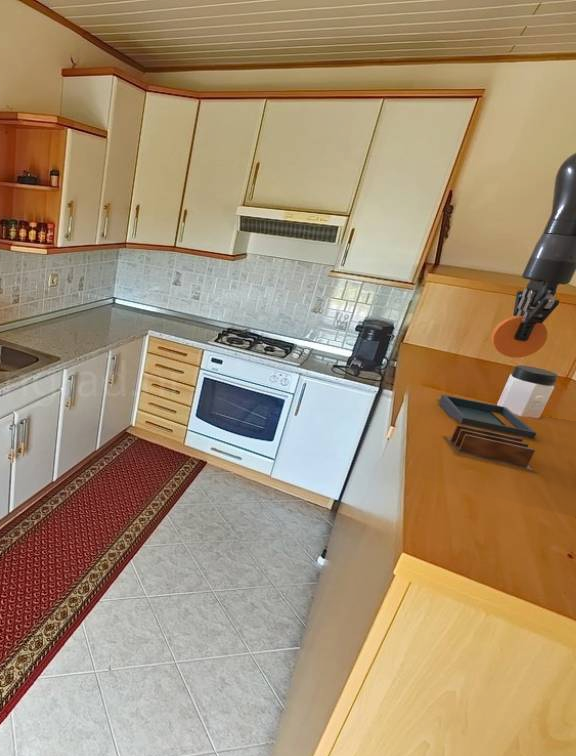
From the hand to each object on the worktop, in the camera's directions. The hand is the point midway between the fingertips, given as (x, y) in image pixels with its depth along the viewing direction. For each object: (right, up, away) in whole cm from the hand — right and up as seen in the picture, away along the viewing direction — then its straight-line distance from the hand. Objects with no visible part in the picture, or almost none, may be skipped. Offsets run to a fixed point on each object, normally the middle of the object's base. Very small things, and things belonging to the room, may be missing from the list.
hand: (517, 338), depth 106 cm
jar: (+18, -18, +20) cm, 32 cm away
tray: (+2, -19, +12) cm, 22 cm away
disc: (-1, -4, +1) cm, 4 cm away
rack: (-14, -25, -8) cm, 30 cm away
